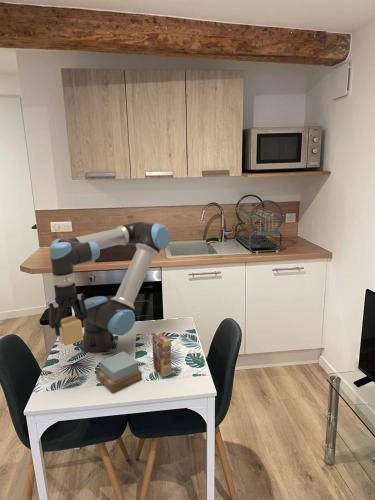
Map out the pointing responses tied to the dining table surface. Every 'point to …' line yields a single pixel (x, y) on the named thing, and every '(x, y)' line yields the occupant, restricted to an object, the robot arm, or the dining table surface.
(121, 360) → the top block
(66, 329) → the ochre block
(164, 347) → the candy box
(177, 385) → the dining table surface
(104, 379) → the base block
